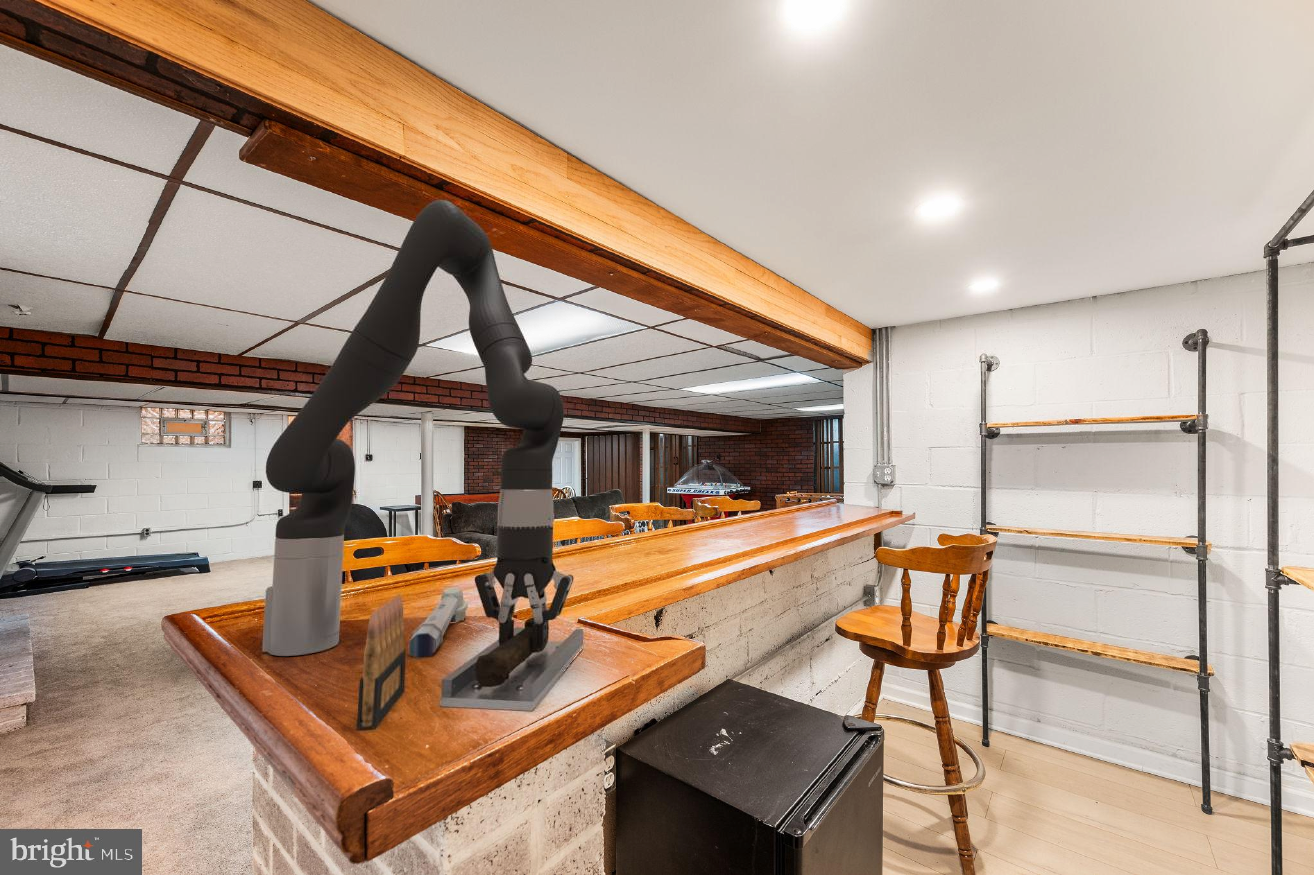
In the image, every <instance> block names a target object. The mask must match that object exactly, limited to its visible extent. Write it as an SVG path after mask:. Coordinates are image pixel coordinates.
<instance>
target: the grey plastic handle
mask: <svg viewBox="0 0 1314 875" xmlns="http://www.w3.org/2000/svg"><path fill="white" fill-rule="evenodd" d="M468 605H469V603H468V602H467V601H466V600H464V593H463V590H462V588H461V587H459V586H450V587H447V588H445V589H443V591H442V594H441V599H440V602H439V603H438V604H437V606H436V607H435V608H434V609H433V610H432V612H431V613H430V614H429V615H428V616H427V618H426V619H425V620H424V621H423V622H422V623H420V624H419V626H417V627H416V628H415V629H414V630H413V631H412V635H411V636H412V637H411V639H409V641H408V654H410V655H411V656H412V657H413V658H414V659H415V658H416V659H417V658H430V657H431V656H432V655H433V654H434V653H435V652H436V651H437V649H438V647H440V645H442V643H443V642H444V635H445V633H446V631H447V628H448V626H449V625H450V624H449V622H456V621H460V620H461V621H462V619H464V618H465V616H466V612H467V609H468V607H469V606H468ZM465 619H466V618H465ZM461 621H460V622H461Z"/></svg>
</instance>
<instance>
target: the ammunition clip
mask: <svg viewBox="0 0 1314 875" xmlns="http://www.w3.org/2000/svg"><path fill="white" fill-rule="evenodd" d="M406 654H407V653H406V649H405V625H404V602H403V598H402V596H401V594H400V593H397V595H396V596H393V597H392V599H389V600H388V601H387V603H386V602H384V603H383V605H382V606H379V607H378V608H377V610H376V609H374V610H372V612H371V615H370V618H369V620H368V625H367V633H366V641H365V647H364V651H363V665H362V667H363V668H362V676H361V677H360V679H359V684H358V685H359V686H358V702H357V703H358V704H357V714H356V715H357V719H356V731H363V730H364V731H365V730H375V729H377V728H378V727H379V726H380V723H381V722H382V721H383V720H384V719H385V717H386V716H387V715H388V713H389V712H390V710H392V708H393V707H394V705H395V704H396V703H397V702H398V700H399V699H400V698H401V696H402V695H403V694H404V692H405V683H406V682H405V681H406V680H405V679H406V678H405V677H406V675H405V674H406V656H407V655H406Z"/></svg>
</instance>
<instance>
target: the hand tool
mask: <svg viewBox="0 0 1314 875" xmlns="http://www.w3.org/2000/svg"><path fill="white" fill-rule="evenodd" d="M533 624H535V621H534V616H532V617H530V618H528V619H526V621H525V622H524V627H523V630H522V631H521V632H519V633H518V634H516V635H515V636H513V637H512V638H511V639H509V640H508V641H507V642H505V643H504V644H502V645H500V646H499V647H498V648H496V649H495V650H493V651H492V652H490V653H489V654H486V655H483V656H479V657H478V659H477V662H476V667H475V672H476V677H475V678H476V680H477V681H478V683H479V684H480V686H482V687H495V686H498V685H502V684H503V683H504V682H505V680H507V679H508V678H509V674H510V673H511V672H512V671H513V670H514V669H515V668H516V667H517V666H518V665H520V664H521V663H522V662H524V661H525V660H526V659H527V658H528V657H529V656H530V655H531V654H532V653H536V652H532V633H533ZM549 626H550V625H549V621H547V641H546V644H547V642H548V641H549V634H550V632H549V630H550V627H549ZM546 644H545V646H543V647H542V649H541V650H540V651H539V652H541V651H543V650H544V648H545V647H546Z"/></svg>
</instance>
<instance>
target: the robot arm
mask: <svg viewBox="0 0 1314 875" xmlns="http://www.w3.org/2000/svg"><path fill="white" fill-rule="evenodd" d="M407 231H408V232H407V233H406V234H405V237H404V239H403V241H402V243H401V245H400V248H399V250H398V252H397V254H396V256H395V258H394V261H393V262H392V264H391V267H390V268H389V270H388V273H387V274H386V277H385V279H384V280H383V282H382V283H381V285H380V287H378V288H379V289H378V290H377V291H376V294H375V295H374V297H373V299H372V300H371V302H370V304H369V305H368V307H367V309H366V310H365V312H364V314H363V315H362V316H361V318H360V319H359V321H358V322H357V323H356V325H355V326H354V328H353V330H352V331H351V333H350V334H349V336H348V337H347V339H346V341H345V342H344V344H343V345H342V348H341V349H340V351H339V353H338V355H337V356H336V358H335V359H334V361H333V363H332V364H331V366H330V367H329V369H328V371H327V372H326V374H325V375H324V376H323V378H322V379H321V381H320V383H319V384H318V385H317V387H316V388H315V390H314V392H312V395H311V396H310V397H309V399H308V400H307V402H306V403H305V404H304V406H302V408H301V409H300V410H299V411H298V413H297V414H296V415H295V417H294V418H293V419H292V420H291V422H290V423H289V424H288V426H287V427H286V428H285V429H284V431H283V432H282V433H281V434H280V436H279V437H278V438H277V440H276V441H275V442H274V444H273V445H272V447H271V449H270V451H269V453H268V456H267V459H266V461H265V475H266V479H267V481H268V483H269V484H270V485H271V487H272V488H273V489H275V490H277V491H280V492H282V493H288V494H289V493H291V494H301V496H300V501H299V503H298V505H297V507H296V508H294V509H293V510H292V511H291V512H290V513H287V514H286V515H284V516H283V517H280V518H279V519H278V520H277V522H276V525H275V536H274V537H275V539H274V540H275V541H274V554H273V557H274V558H273V569H272V570H273V571H272V584H271V586H269V587H267V588H266V590H265V601H264V612H263V613H264V615H263V632H262V646H261V648H262V650H261V652H262V653H263V652H264V653H268V654H269V655H273V656H279V657H289V656H301V655H308V654H314V653H319V652H323V651H326V650H329V649H331V648H333V647H335V646H337V645H339V642H340V639H339V638H340V625H341V624H340V623H341V622H340V621H341V605H342V604H341V603H342V584H343V582H342V581H343V562H344V561H343V560H344V543H345V542H344V540H345V527H346V524H347V522H348V520H349V518H350V515H351V511H352V506H353V505H352V504H353V495H354V486H355V475H356V463H355V462H356V461H355V456H354V452H353V450H352V449H351V446H349V444H348V443H347V442H345V441H344V440H342V439H340V438H338V437H339V435H340V434H341V432H343V430H344V428H345V427H346V426H347V425H348V424H349V423H350V421H351V420H352V419H354V418H355V417H356V416H358V415H359V414H360V413H361V412H363V411H364V410H365V409H368V407H370V406H371V405H373V404H375V402H377V401H378V400H379V399H381V398H382V397H384V396H385V395H386V394H387V393H388V392H390V391H391V390H392V389H393V388H395V386H396V385H397V384H398V383H399V381H400V380H401V378H402V376H403V375H404V373H405V372H406V371H407V369H408V367H409V366H410V364H411V362H412V360H413V359H414V357H415V356H416V354H417V351H418V348H419V345H420V338H421V320H422V319H421V312H422V301H423V297H424V295H425V291H426V289H427V287H428V285H429V283H430V281H431V279H432V278H433V275H434V274H435V273H436V270H437V269H438V268H439V269H441V270H442V271H443V272H445V273H447V274H449V275H451V276H452V277H453V278H454V280H456V281H457V283H458V284H459V286H460V287H461V289H462V290H463V292H464V293H465V295H466V298H467V301H468V304H469V314H468V328H469V333H470V337H471V339H472V342H473V344H474V346H475V349H476V352H477V354H478V356H479V359H480V360H481V363H482V365H483V367H484V375H485V376H484V377H485V384H486V385H485V386H486V394H487V401H488V407H489V409H490V411H491V413H492V414H493V416H494V417H495V418H496V420H497V421H498V422H499V423H501V425H503V426H505V427H508V428H511V429H512V428H513V429H518V430H522V431H523V432H522V436H521V438H520V442H519V444H518V446H517V445H516V446H512V447H510V448H507V449H506V450H504V452H503V453H502V456H501V463H500V492H499V498H498V504H497V505H498V506H497V529H496V530H497V532H496V563H495V565H494V567H493V570H491V571H489V572H483V573H480V574H477V575H475V577H474V582H475V587H476V589H477V592H478V595H479V599H480V601H481V605H482V608H483V611H484V615H485V616H486V618H488V619H492V618H493V619H494V620H496V621H497V622H498V625H499V626H498V627H499V628H498V630H499V631H498V639H499V645H502V644H504V643H505V642H507V641H508V640H509V639H511V638H512V637H513V636H514V628H515V619H513V617H514V613H515V610H516V609H515V608H516V605H517V603H518V601H519V598H524V599H528V602H529V606H530V608H531V610H532V615H533V616H532V617H534V621H535V624H533V633H532V652H537V653H538V652H539V651H540V650H541V649H542V647H543V646H545V644H546V641H547V621H548V622H550V621H553V620H556V619H557V617H558V616H560V615H561V613H562V612H563V609H564V606H565V603H566V601H567V598H568V596H569V593H570V591H571V587H572V585H573V582H574V580H575V578H574V576H573V574H571V573H570V574H565V573H562V572H560V571H557V569H556V568H557V567H556V566H555V564H554V561H553V556H554V554H553V553H554V521H555V513H554V499H553V462H554V461H553V460H554V457H555V454H556V451H557V448H558V443H559V440H560V436H561V431H562V427H563V425H564V418H565V406H564V405H565V404H564V401H563V398H562V395H561V394H560V392H559V390H557V388H556V387H554V386H553V385H550V384H547V383H544V382H539V381H536V380H534V379H529V378H527V377H526V375H525V374H527V373H528V371H529V370H530V368H531V366H532V364H533V356H532V352H531V349H530V347H529V345H528V343H527V340H526V338H525V336H524V334H523V332H522V330H521V328H520V326H519V324H518V322H517V320H516V318H515V316H514V313H513V311H512V309H511V307H510V304H509V302H508V299H507V296H506V293H505V290H504V287H503V283H502V281H501V280H502V279H501V277H500V274H499V271H498V267H497V261H496V257H495V254H494V250H493V247H492V243H491V241H490V239H489V237H488V235H487V233H486V232H485V230H483V229H482V227H481V226H480V225H478V224H477V223H476V222H475V221H474V220H473V219H471V218H470V217H469V216H468V214H465V213H464V212H463V210H462V209H460V208H459V207H458V206H457V205H456V204H454V203H452V202H451V201H449V200H446V199H438V200H435V201H432V202H430V203H429V204H427V206H425V207H424V208H423V209H422V210H421V211H419V213H418V215H417V216H416V218H414V221H413V222H412V224H411V226H410V227H409V229H408V230H407ZM552 580H553V587H554V589H555V590H556V591H555V593H554V596H553V599H552V601H551V604H550V607H549V609H548V606H547V601H548V598H547V593H546V588H547V587H548V585H549V584H550V582H551V581H552ZM496 581H497V582H498V584H499V586H501V588H502V594H501V599H500V601H499V598H498V594H497V592H496V589H495V585H496Z"/></svg>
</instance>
